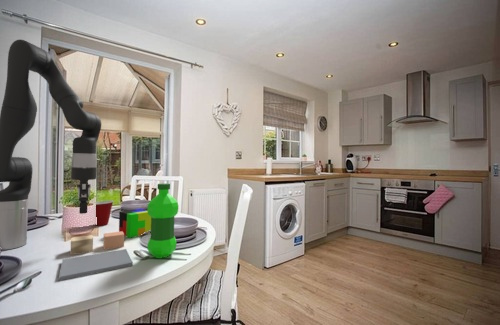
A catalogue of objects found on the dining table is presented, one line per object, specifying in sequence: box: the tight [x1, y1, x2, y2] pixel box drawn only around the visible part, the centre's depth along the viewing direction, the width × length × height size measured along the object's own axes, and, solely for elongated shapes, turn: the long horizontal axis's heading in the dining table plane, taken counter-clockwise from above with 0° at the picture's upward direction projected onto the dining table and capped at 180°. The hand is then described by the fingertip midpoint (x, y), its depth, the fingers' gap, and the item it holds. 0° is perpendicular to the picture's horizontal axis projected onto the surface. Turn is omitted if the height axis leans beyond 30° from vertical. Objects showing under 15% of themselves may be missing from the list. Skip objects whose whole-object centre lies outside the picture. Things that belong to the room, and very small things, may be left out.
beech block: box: [69, 234, 94, 256], centre depth 86 cm, size 6×5×5 cm
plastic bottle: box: [147, 183, 179, 259], centre depth 83 cm, size 10×10×25 cm
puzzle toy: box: [118, 208, 151, 239], centre depth 109 cm, size 10×10×10 cm
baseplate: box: [58, 248, 134, 282], centre depth 75 cm, size 18×14×1 cm
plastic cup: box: [94, 200, 114, 227], centre depth 122 cm, size 11×11×12 cm
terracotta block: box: [102, 231, 125, 250], centre depth 91 cm, size 6×5×5 cm
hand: (83, 211), depth 86 cm, fingers open, 8 cm apart
